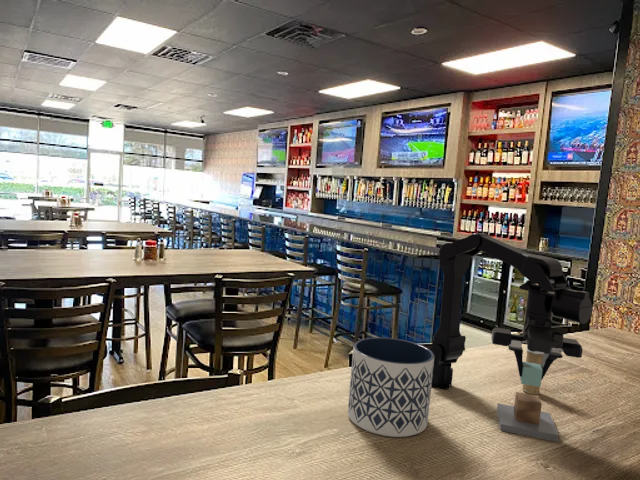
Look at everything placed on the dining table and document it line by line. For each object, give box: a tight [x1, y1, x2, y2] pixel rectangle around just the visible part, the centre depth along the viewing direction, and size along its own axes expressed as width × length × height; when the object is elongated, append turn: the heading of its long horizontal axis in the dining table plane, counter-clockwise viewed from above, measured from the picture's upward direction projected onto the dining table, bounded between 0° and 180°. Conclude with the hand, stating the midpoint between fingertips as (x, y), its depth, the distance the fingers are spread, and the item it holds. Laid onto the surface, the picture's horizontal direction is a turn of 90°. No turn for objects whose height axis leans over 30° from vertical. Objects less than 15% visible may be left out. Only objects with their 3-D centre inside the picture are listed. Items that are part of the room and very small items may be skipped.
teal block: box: [519, 361, 543, 388], centre depth 112 cm, size 4×4×4 cm
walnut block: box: [513, 391, 543, 425], centre depth 113 cm, size 5×5×5 cm
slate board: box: [496, 402, 560, 443], centre depth 113 cm, size 12×12×2 cm
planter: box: [347, 336, 434, 438], centre depth 110 cm, size 18×18×16 cm
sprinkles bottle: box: [521, 347, 544, 395], centre depth 134 cm, size 5×5×14 cm
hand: (530, 377), depth 112 cm, fingers closed on teal block, 4 cm apart
